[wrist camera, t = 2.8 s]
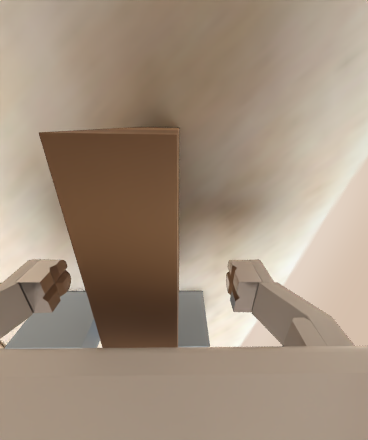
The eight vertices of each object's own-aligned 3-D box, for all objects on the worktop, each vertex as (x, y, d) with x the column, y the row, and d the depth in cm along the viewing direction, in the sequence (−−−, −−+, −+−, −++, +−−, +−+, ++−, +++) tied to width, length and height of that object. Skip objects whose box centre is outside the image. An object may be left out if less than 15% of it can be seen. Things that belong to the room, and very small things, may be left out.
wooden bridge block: (135, 127, 13) (38, 132, 4) (179, 127, 13) (176, 134, 4) (147, 264, 18) (117, 396, 10) (178, 264, 19) (177, 396, 10)
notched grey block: (48, 291, 20) (4, 348, 15) (202, 291, 20) (209, 346, 15) (57, 311, 21) (18, 369, 16) (201, 310, 21) (207, 366, 16)
